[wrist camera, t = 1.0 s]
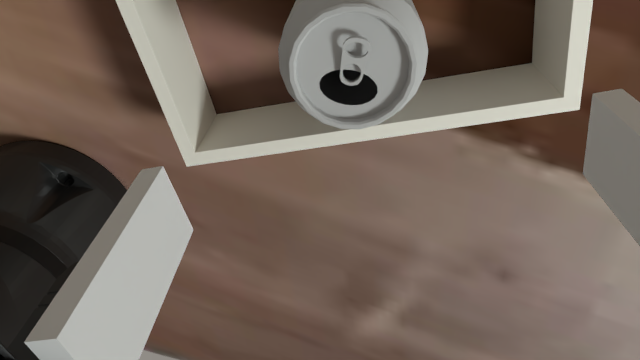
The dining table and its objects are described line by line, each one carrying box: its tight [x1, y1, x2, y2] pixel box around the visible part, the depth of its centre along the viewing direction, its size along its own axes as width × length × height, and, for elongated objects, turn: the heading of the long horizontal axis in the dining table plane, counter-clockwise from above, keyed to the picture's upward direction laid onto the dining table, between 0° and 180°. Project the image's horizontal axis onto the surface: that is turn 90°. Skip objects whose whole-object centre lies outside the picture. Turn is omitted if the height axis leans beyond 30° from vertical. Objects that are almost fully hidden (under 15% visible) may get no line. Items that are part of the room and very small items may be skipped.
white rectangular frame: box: [115, 0, 593, 167], centre depth 29 cm, size 26×14×6 cm, turn 101°
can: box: [278, 0, 428, 129], centre depth 26 cm, size 8×8×12 cm
